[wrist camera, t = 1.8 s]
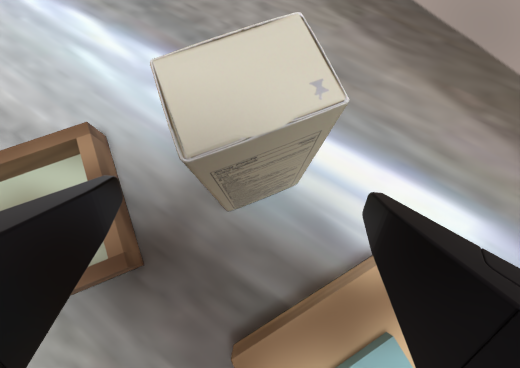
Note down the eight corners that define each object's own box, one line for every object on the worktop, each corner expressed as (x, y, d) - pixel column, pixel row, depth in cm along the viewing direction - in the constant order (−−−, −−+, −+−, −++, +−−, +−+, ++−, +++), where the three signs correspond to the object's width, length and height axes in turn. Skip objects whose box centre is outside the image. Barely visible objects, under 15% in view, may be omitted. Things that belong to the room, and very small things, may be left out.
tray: (143, 265, 19) (127, 267, 16) (-15, 330, 17) (-58, 344, 15) (105, 136, 21) (86, 121, 19) (-36, 185, 20) (-77, 176, 17)
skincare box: (277, 139, 21) (309, 3, 10) (298, 185, 21) (362, 98, 9) (205, 165, 21) (142, 52, 9) (223, 214, 20) (179, 163, 8)
